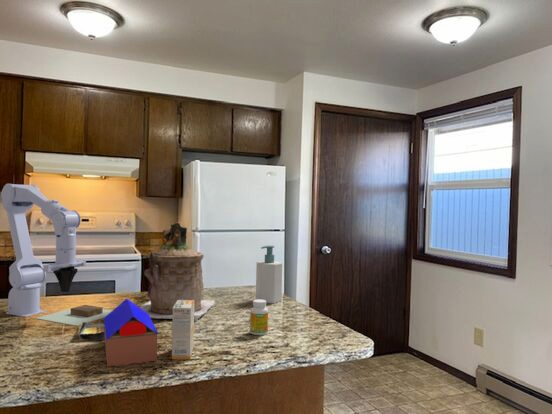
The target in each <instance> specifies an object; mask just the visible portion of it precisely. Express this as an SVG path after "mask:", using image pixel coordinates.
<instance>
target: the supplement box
mask: <svg viewBox="0 0 552 414" xmlns="http://www.w3.org/2000/svg"><path fill="white" fill-rule="evenodd" d="M171 331H172V332H171V333H172V334H171V359H172V360H191V358H192V355H193V351H194V343H195V340H194V338H195V336H194V335H195V333H194V331H195V321H194V300H177V302H176V303H175V305H174V307H173V319H172V327H171Z"/></svg>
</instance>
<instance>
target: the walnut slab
mask: <svg viewBox="0 0 552 414" xmlns="http://www.w3.org/2000/svg"><path fill="white" fill-rule="evenodd" d="M70 309H71V314H70V315H76V316H82V317H88V318H89V317H92V316H95V315H98V314H102V312H103V310H104V308H103V307H101V306H96V305H91V304H90V305H89V304H83V305H79V306H78V305H77V306H76V307H72V308H70Z"/></svg>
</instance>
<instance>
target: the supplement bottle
mask: <svg viewBox="0 0 552 414" xmlns="http://www.w3.org/2000/svg"><path fill="white" fill-rule="evenodd" d="M252 306H253V307H251V308H250V318H249V319H250V321H249V324H250V325H249V333H250V334H252V335H253V336H254V335H255V336H264V335H267V334H268V332H269V331H268V329H269V308H267V307H266V306H267V303H266V300H261V299H257V300H256V299H253V300H252Z"/></svg>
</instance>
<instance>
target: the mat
mask: <svg viewBox="0 0 552 414" xmlns="http://www.w3.org/2000/svg"><path fill="white" fill-rule="evenodd" d="M112 311H113V310H109V309H108V310H107V309H103V312H102V314H98V315H95V316H92V317H89V318H88V317H82V316H76V315H70V314H71V308H68V309H64V310H59V311H57V312H53V313H49V314H46V315H42V316H38V317H36V318H35V319H36V320H40V321H45V322H51V323H57V324H63V325H70V326H74V327H81V326H82V325H81V324H82V322H85V323H86V322H87V323H93V322H95V321H98V320H100V319H101V320H102V319H104V318H105V317H106V316H107V315H108V314H109V313H111V312H112Z"/></svg>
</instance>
